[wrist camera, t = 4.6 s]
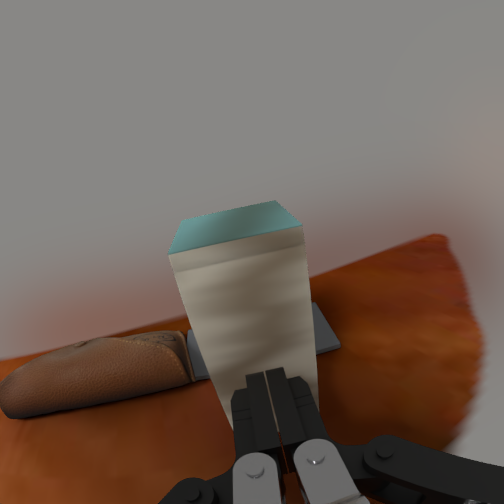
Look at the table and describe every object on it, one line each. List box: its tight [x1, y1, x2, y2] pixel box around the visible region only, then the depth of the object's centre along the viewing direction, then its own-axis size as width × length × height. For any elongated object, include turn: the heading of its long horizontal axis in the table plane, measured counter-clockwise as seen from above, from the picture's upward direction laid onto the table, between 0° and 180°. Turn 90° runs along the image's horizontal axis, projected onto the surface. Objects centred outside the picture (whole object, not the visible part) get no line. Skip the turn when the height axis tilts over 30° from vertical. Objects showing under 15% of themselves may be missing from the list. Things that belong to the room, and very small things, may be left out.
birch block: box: [168, 201, 319, 432], centre depth 15 cm, size 5×5×12 cm
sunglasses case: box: [0, 331, 196, 419], centre depth 19 cm, size 18×7×7 cm, turn 108°
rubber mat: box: [187, 302, 341, 380], centre depth 23 cm, size 12×6×1 cm, turn 97°
